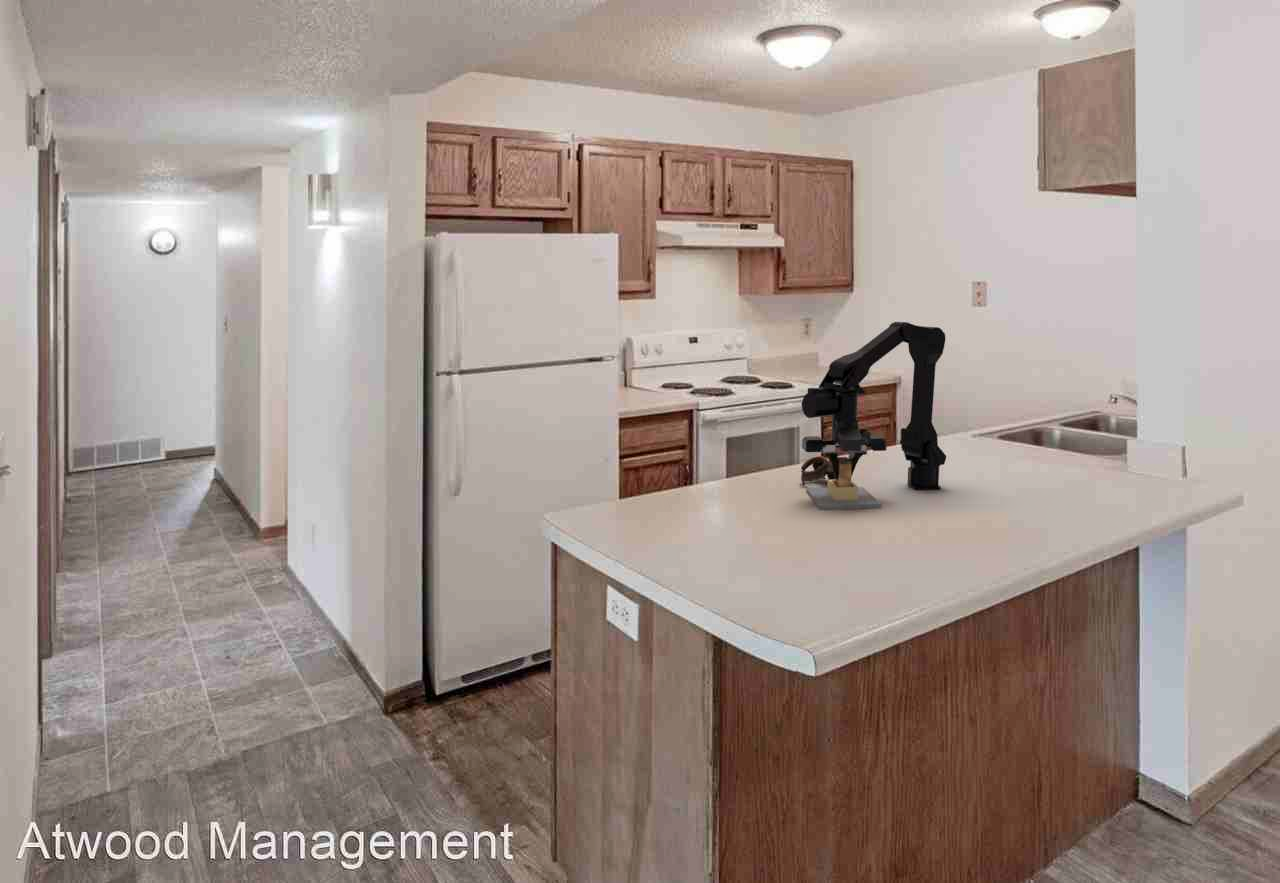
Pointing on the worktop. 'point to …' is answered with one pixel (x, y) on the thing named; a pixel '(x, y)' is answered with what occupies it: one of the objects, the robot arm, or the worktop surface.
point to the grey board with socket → (842, 497)
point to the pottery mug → (817, 469)
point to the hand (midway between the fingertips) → (842, 479)
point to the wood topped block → (843, 472)
